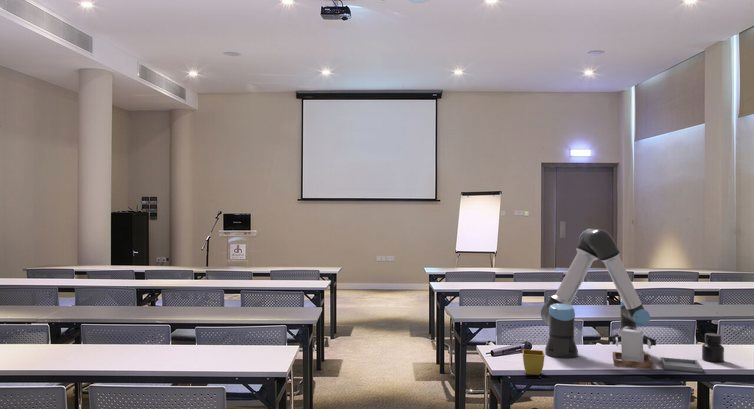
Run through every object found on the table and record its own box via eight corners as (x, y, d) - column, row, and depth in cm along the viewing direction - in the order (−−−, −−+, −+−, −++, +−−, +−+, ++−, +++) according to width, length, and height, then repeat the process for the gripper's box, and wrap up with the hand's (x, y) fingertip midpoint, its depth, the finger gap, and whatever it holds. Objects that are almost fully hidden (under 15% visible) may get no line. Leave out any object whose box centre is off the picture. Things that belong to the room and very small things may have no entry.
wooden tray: (614, 365, 272) (614, 360, 272) (612, 357, 288) (612, 351, 288) (653, 369, 267) (653, 363, 267) (649, 360, 283) (649, 354, 283)
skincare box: (643, 363, 277) (644, 330, 277) (639, 365, 273) (639, 332, 273) (625, 360, 283) (625, 328, 283) (620, 362, 278) (620, 329, 278)
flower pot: (544, 376, 253) (544, 355, 253) (522, 375, 255) (523, 354, 255) (543, 371, 261) (543, 350, 262) (522, 370, 263) (522, 349, 263)
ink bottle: (729, 362, 280) (729, 336, 280) (712, 363, 278) (712, 337, 278) (713, 357, 290) (713, 332, 290) (697, 358, 288) (697, 332, 288)
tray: (664, 369, 267) (664, 364, 267) (660, 361, 281) (660, 357, 281) (702, 372, 262) (702, 368, 262) (696, 364, 276) (696, 360, 276)
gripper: (658, 345, 292) (663, 355, 272) (602, 341, 300) (603, 350, 280) (658, 329, 292) (663, 338, 272) (602, 325, 300) (603, 333, 280)
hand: (633, 344), depth 276 cm, fingers open, 13 cm apart
